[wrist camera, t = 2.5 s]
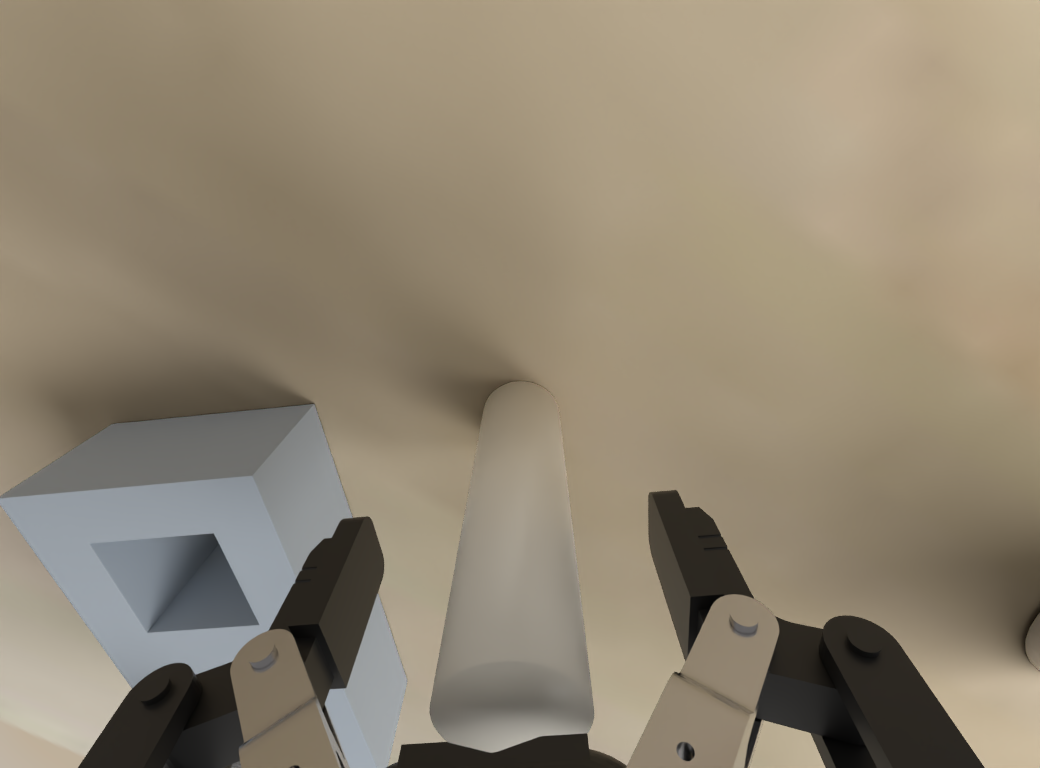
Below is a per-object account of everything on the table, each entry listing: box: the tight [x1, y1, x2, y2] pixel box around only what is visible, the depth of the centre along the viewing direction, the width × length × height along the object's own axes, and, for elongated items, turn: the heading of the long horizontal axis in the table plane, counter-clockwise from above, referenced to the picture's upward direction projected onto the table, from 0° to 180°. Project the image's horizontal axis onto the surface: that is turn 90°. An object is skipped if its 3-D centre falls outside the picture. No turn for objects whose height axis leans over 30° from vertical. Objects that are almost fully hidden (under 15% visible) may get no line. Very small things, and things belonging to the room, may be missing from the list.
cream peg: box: [430, 381, 594, 753], centre depth 15 cm, size 3×3×12 cm
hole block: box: [0, 404, 407, 768], centre depth 22 cm, size 9×18×5 cm, turn 7°
